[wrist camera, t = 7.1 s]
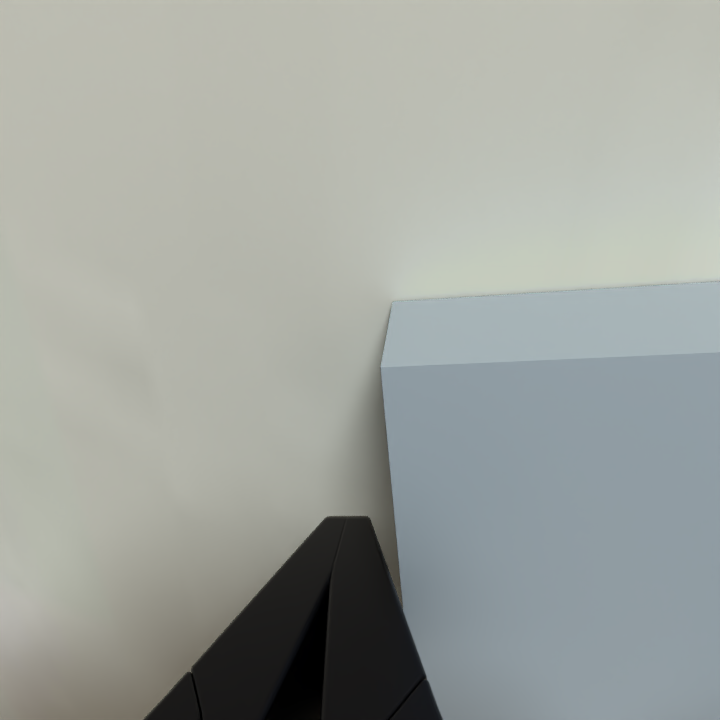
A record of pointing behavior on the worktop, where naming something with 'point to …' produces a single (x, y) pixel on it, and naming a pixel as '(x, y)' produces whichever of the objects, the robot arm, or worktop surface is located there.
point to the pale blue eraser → (560, 500)
